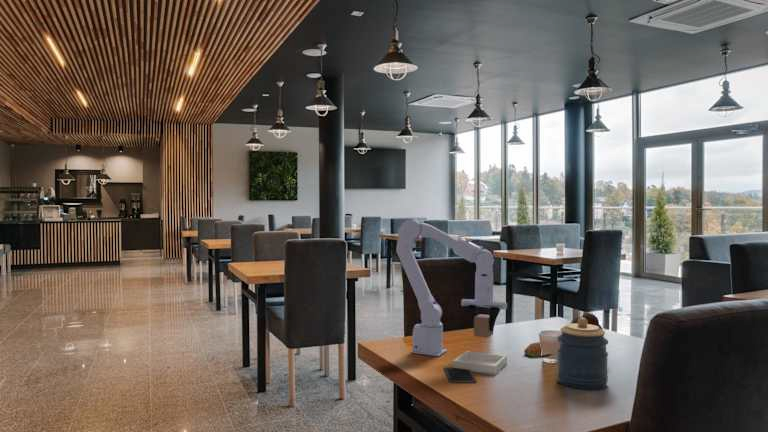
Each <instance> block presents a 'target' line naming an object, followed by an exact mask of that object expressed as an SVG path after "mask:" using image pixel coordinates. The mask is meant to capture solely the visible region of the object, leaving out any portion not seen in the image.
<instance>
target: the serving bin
mask: <svg viewBox="0 0 768 432" xmlns="http://www.w3.org/2000/svg"><path fill="white" fill-rule="evenodd" d="M507 364H508V356H507V355H504V354H495V353H487V352H482V351H471V350H466V351H465V352H463V353H462V354H461V355H459V356H457V357H456V358H455V359H453V360H452V367H453V368H458V369H465V370H470V371H471V373H478V374H485V375H491V376H492V375H493V376H496V375H497V374H498V373H499V372H500V371H501V370H502V369H504V368H505V367H506V366H507Z"/></svg>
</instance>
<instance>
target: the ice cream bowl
mask: <svg viewBox="0 0 768 432" xmlns="http://www.w3.org/2000/svg"><path fill="white" fill-rule="evenodd" d="M579 318H585V319H586V320H587V321H588V324H591V325H595V326H598V327H599V328H600V329H602V330H603V331H604V332H605V330H604V329H603V327H602V326H601V324H600V322H599V317H597V316H596V314H594V313H593V314H592V313H590V312H589V313H584V314H582V315H581V317H580V316H578V317H576V318H574V319H573V320H572V321H571V322H570V324H571V323H577V322H578V319H579ZM605 333H606V332H605ZM603 336H604V337H605V334H604V335H603Z"/></svg>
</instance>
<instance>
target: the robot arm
mask: <svg viewBox="0 0 768 432" xmlns="http://www.w3.org/2000/svg"><path fill="white" fill-rule="evenodd" d="M419 237H420V238H430V239H433V240H435V241H437V242H439V243H441V244H444V245H445V246H447V247H449V248H451V249H452V250H453V251H452V252H453V254H455V255H457V256H458V257H460V258H463V259H464V260H466V261H468V262H469V263H475V265H476V266H475V267H476V268H475V269H476V270H475V273H474V277H475V278H474V298H473V299H471V298H469V299H467V298H463V299H461V303H460V304H461V307H464V306H465V307H466V306H467V309H466V310H467V311H468V313H469V316H470V318H471V321H472V325H473V327H474V317H476V316H477V315H479V313H480V308H488V315H489V317H490V326H489V329H490V331H493V332H494V329H495V324H496V320H497V318H498V315H499V314H500V311H501V310H504V311H505V310H507V309H508V302H504V301H498V300H497V301H496V300H494V272H493V271H494V267H493V265H494V262H495V259H494V256H493V254H492V252H491V251H489V249H488V248H487V249H486V248H484V247H483V246H482V245H477V244H476V243H474V242H471V241H470V239H469V238H468V237H466V238H464V237H460V238H454V237H453V236H452V235H449V234H447V233H446V232H444V231H442V230H440V229H439V228H437V227H435V226H434V225H432V224H428V223H426V222H423V221H422V222H421V221H419V219H414V218H413V219H408V220H404V222H403V223H402V224H401V226H400V228H399V229H398V232H397V241H396V255H397V256H398V258H399V260H400V263H401V265H402V267H403V270H404V272H405V275H406V276H407V278H408V281H409V283H410V286H411V289H412V290H413V293H414V295H415V298H416V299H417V304H418V308H419V311H420V320H421V321H420V323H416V324H415V325H414V326H413V328H412V351H411V353H412V354H418V355H425V356H426V355H427V356H434V357H440V356H441V355H444V353H446V352H447V350H448V349H446V348H444V347H443V344H444V343H443V342H444V341H443V340H444V339H443V335H444V334H443V333H444V331H443V330H444V329H443V328H444V327H443V325H444V324H443V323H442V322H441V319H442V316H443V309H442V307H441V305H440V304H439V303H438V302H437V301H436V300H435V298H434V296H433V295H432V293H431V291H430V289H429V287H428V284H427V282H426V279H425V278H424V275H423V272H422V270H421V268H420V266H419V263H418V261H417V258H416V257H415V255H414V252H413V248H414V246H415V244H416V241H417V240H418V239H419Z"/></svg>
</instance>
